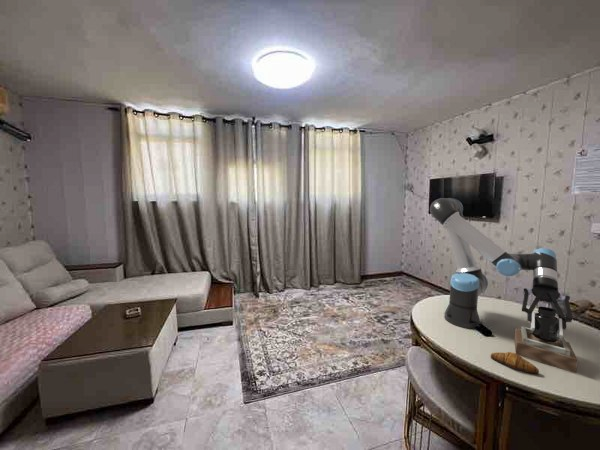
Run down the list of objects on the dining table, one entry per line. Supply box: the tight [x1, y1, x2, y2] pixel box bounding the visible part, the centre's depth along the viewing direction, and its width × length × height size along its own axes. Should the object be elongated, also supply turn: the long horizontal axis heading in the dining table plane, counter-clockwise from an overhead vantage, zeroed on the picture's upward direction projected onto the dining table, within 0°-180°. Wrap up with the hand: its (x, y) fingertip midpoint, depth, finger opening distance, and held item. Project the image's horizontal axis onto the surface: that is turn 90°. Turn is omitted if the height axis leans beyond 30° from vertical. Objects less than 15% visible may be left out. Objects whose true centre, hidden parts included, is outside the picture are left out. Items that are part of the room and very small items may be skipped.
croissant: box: [490, 351, 540, 375], centre depth 89 cm, size 14×7×5 cm, turn 48°
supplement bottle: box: [533, 306, 559, 342], centre depth 95 cm, size 7×7×12 cm
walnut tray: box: [513, 325, 579, 374], centre depth 96 cm, size 16×14×7 cm
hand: (546, 332), depth 92 cm, fingers closed on supplement bottle, 7 cm apart
